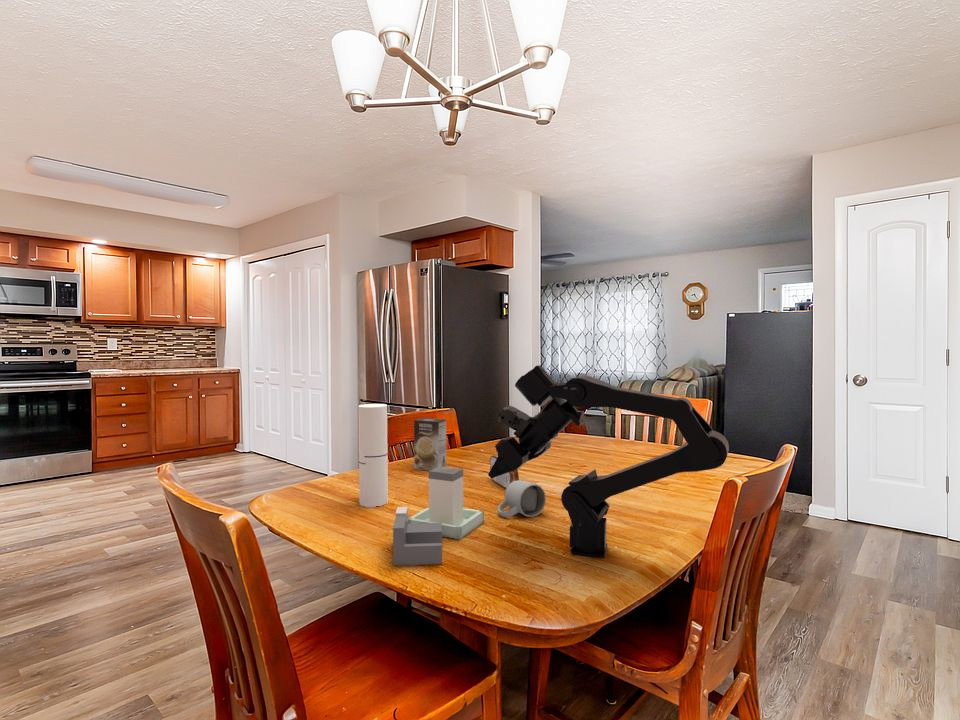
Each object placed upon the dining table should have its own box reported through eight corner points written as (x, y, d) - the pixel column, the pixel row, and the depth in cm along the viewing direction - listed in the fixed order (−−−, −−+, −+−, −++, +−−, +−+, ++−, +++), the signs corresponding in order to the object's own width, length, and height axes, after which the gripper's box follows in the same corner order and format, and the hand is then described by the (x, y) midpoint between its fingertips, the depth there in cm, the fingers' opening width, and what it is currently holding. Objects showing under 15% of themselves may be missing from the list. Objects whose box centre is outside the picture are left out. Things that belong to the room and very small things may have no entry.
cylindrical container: (381, 508, 132) (380, 407, 131) (354, 506, 133) (353, 406, 132) (392, 499, 139) (391, 404, 138) (366, 498, 140) (365, 403, 139)
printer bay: (441, 539, 111) (441, 504, 111) (442, 564, 99) (442, 524, 98) (398, 540, 110) (397, 505, 110) (393, 565, 98) (392, 526, 98)
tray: (484, 521, 122) (484, 511, 122) (459, 539, 111) (459, 527, 111) (434, 514, 127) (434, 503, 127) (406, 530, 116) (406, 519, 116)
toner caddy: (463, 521, 120) (463, 469, 119) (452, 529, 115) (452, 474, 115) (440, 518, 122) (440, 466, 122) (428, 524, 118) (428, 471, 118)
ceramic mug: (526, 505, 134) (526, 475, 134) (546, 514, 127) (546, 482, 127) (490, 513, 129) (490, 481, 128) (509, 522, 122) (509, 489, 121)
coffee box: (412, 469, 171) (412, 419, 171) (422, 465, 177) (422, 417, 176) (438, 472, 168) (438, 421, 167) (447, 467, 174) (447, 418, 173)
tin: (519, 492, 146) (519, 461, 145) (509, 493, 145) (509, 462, 144) (497, 478, 160) (497, 450, 159) (488, 479, 159) (488, 451, 158)
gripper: (537, 390, 119) (492, 435, 124) (504, 398, 102) (454, 450, 107) (571, 427, 116) (523, 472, 121) (543, 442, 99) (489, 494, 104)
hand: (498, 471), depth 113 cm, fingers open, 9 cm apart
